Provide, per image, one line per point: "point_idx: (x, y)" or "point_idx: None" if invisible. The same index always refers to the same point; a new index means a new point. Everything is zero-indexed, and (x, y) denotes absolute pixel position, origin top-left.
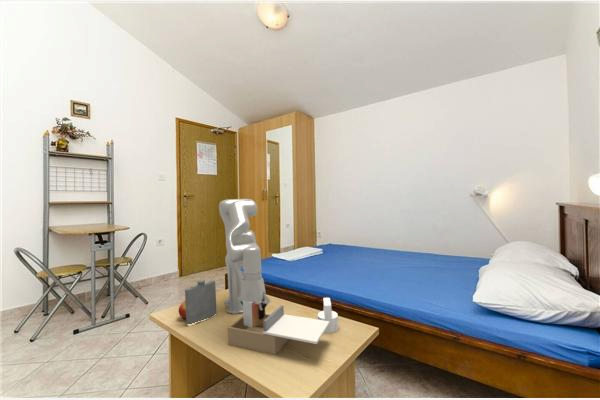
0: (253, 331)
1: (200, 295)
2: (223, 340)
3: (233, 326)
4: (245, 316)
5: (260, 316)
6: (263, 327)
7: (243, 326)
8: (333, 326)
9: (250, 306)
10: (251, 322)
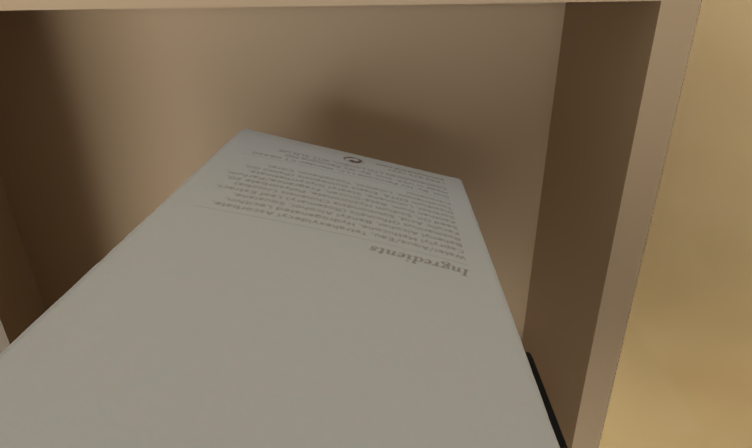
0: (118, 5)
1: None
2: (701, 31)
3: (628, 90)
4: (411, 234)
5: None
6: None
7: (549, 277)
8: None
9: (14, 420)
10: (234, 159)
